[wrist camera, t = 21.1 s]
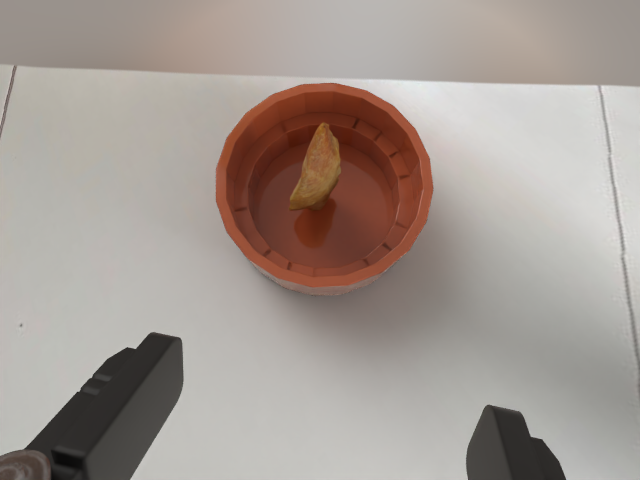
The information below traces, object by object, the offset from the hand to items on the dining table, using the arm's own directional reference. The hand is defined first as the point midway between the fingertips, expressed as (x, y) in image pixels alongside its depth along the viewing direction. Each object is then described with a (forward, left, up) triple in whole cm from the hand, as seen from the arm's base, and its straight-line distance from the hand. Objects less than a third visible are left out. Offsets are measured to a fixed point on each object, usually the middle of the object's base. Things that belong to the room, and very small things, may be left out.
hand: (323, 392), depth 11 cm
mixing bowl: (-1, -13, -25) cm, 28 cm away
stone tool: (0, -13, -25) cm, 28 cm away
